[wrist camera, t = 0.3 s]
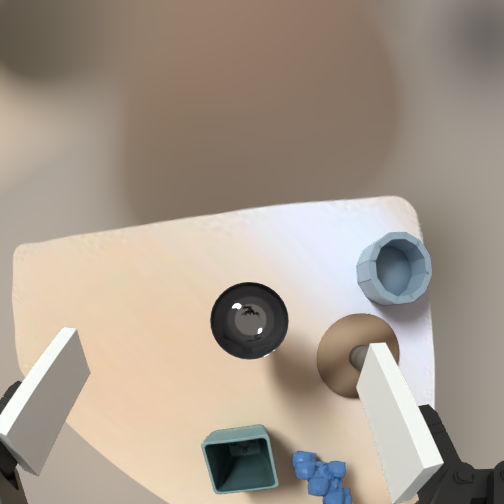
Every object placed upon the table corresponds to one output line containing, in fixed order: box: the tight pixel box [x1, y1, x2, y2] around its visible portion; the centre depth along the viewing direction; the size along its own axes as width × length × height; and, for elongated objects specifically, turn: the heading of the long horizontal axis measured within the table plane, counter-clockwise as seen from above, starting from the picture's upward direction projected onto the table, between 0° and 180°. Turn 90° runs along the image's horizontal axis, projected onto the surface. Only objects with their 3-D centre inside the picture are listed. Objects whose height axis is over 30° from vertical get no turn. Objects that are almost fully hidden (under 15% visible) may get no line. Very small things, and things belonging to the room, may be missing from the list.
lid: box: [317, 314, 399, 398], centre depth 42 cm, size 13×13×7 cm
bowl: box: [356, 232, 432, 305], centre depth 44 cm, size 10×10×6 cm
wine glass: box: [210, 282, 289, 359], centre depth 39 cm, size 8×8×15 cm
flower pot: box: [201, 425, 279, 494], centre depth 39 cm, size 9×9×9 cm
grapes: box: [292, 451, 352, 504], centre depth 36 cm, size 12×7×12 cm, turn 44°
